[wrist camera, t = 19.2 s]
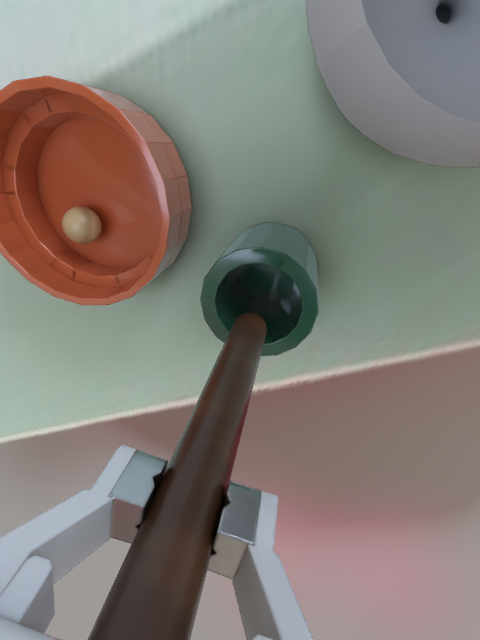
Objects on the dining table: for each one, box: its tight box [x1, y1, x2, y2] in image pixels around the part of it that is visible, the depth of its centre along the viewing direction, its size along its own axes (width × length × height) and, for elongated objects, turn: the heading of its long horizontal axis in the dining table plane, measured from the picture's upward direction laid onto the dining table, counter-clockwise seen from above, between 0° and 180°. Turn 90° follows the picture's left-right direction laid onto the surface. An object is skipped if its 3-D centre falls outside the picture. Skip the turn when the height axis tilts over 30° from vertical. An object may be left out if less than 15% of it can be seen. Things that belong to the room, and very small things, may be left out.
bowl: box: [0, 76, 192, 305], centre depth 27 cm, size 15×15×6 cm
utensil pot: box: [200, 222, 319, 356], centre depth 26 cm, size 8×8×8 cm
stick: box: [88, 313, 267, 640], centre depth 12 cm, size 2×2×18 cm
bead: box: [62, 206, 102, 244], centre depth 29 cm, size 3×3×3 cm
